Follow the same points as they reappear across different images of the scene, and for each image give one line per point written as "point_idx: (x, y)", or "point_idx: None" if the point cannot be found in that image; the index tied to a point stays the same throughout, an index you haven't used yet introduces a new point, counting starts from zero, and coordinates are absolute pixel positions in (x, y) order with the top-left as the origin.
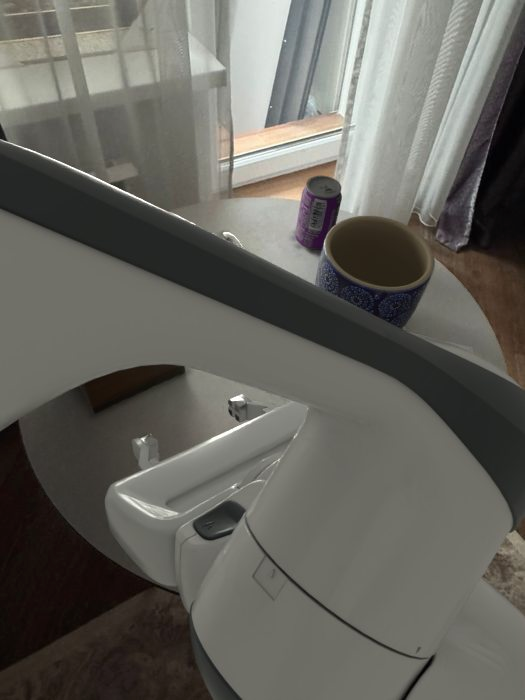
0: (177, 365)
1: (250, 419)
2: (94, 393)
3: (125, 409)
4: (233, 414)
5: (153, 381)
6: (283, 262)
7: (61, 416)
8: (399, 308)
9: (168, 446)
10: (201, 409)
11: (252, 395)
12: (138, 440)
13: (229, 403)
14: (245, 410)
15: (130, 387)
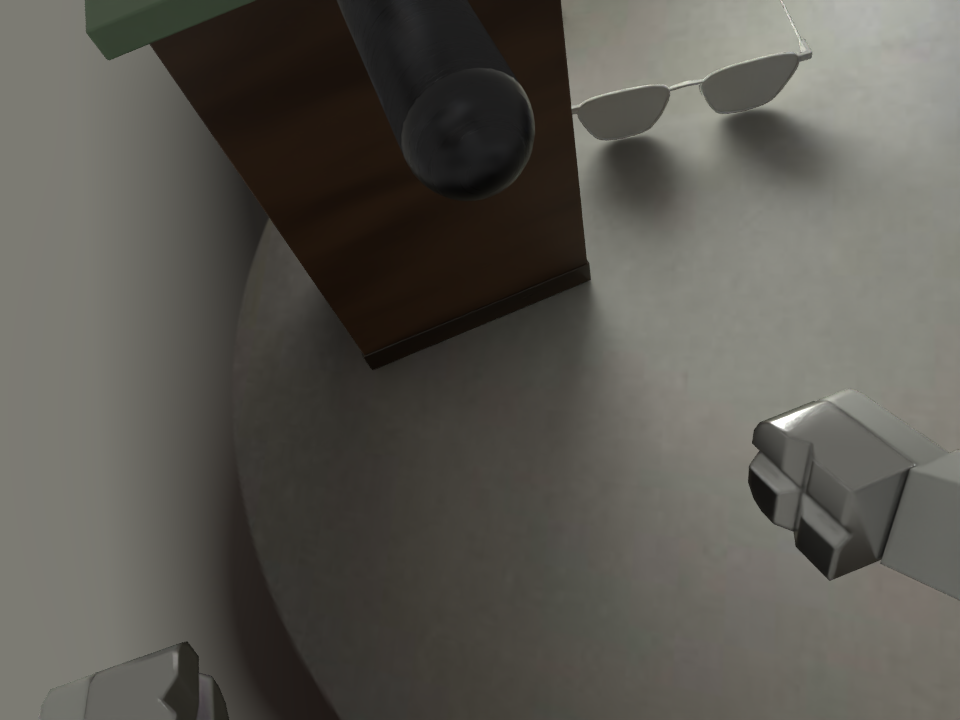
0: (447, 193)
1: (910, 568)
2: (359, 322)
3: (440, 364)
4: (783, 512)
5: (509, 299)
6: (868, 3)
7: (304, 370)
8: None
9: (532, 469)
10: (625, 377)
11: (771, 348)
12: (62, 718)
13: (763, 445)
14: (886, 512)
15: (451, 311)
